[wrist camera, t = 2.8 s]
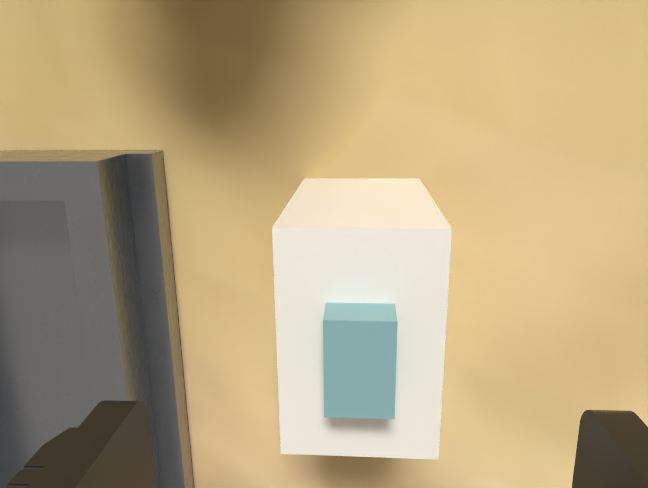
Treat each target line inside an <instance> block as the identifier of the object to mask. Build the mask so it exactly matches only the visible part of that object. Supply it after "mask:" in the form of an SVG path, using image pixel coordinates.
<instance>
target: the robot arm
mask: <svg viewBox="0 0 648 488" xmlns="http://www.w3.org/2000/svg"><path fill="white" fill-rule="evenodd" d="M154 485H155V466H154V458H153V449H152V441H151V432H150V424H149V416H148V410H147V406H146V404H145V403H144V402H143V401H112V400H103V401H101V402H99V403H98V404H97V405H96V407H95V408H94V409H93V410H92V411H91V412H90V414H89V415H88V416H87V417H86V418H85V420H84V421H83V422H82V423H81V424H80V425H79V427H78V428H77V427H70V428H68V429H67V430H65V431H63V432H62V433H60V434H59V435H57V436H56V437H54V438H53V439H51V440H50V441H48V442H47V443H45V444H43V445H42V446H41V448H40V449H39V450H38V451H37V452H36V453H35V454H34V455H33V456H32V457H31V459H30V460H29V461H28V462H27V463H26V464H25V465H24V469H23V470H20V471H19V472H18V473H17V474H16V475H15V476H14V477H13V478H12V480H11V481H10V482H9V483H8V486H7V488H154ZM572 488H648V427H647V426H646V425H645V424H644V422H643V421H642V420H641V419H640V418H639V417H638V416H637V415H636V414H635V413H634V412H632V411H609V410H586V411H585V412H584V413H583V414H582V416H581V420H580V426H579V434H578V442H577V450H576V458H575V466H574V474H573V483H572Z"/></svg>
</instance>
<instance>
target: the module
mask: <svg viewBox="0 0 648 488" xmlns="http://www.w3.org/2000/svg"><path fill="white" fill-rule="evenodd" d="M451 233H452V228H451V227H450V225H449V224H448V222H447V221H446V219H445V218H444V216H443V215H442V213H441V211H440V210H439V208H438V207H437V205H436V204H435V202H434V201H433V199H432V198H431V196H430V194H429V193H428V191H427V190H426V188H425V187H424V185H423V184H422V182H421V181H420V179H304V180H303V181H302V183H301V184H300V186H299V187H298V189H297V191H296V192H295V194H294V195H293V197H292V198H291V200H290V201H289V203H288V204H287V206H286V207H285V209H284V210H283V212H282V213H281V215H280V216H279V218H278V219H277V221H276V222H275V224H274V225H273V227H272V236H273V262H274V288H275V314H276V340H277V366H278V392H279V418H280V444H281V454H302V455H329V456H357V457H384V458H411V459H438V457H439V440H440V423H441V405H442V388H443V371H444V354H445V336H446V319H447V302H448V285H449V268H450V250H451Z"/></svg>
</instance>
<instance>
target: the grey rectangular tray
mask: <svg viewBox="0 0 648 488" xmlns="http://www.w3.org/2000/svg"><path fill="white" fill-rule="evenodd" d="M103 400H112V401H143V402H144V403H145V404H146V406H147V410H148V416H149V424H150V432H151V441H152V449H153V458H154V466H155V485H154V488H194V483H193V472H192V461H191V450H190V440H189V429H188V418H187V408H186V397H185V386H184V376H183V365H182V354H181V343H180V333H179V322H178V311H177V301H176V290H175V279H174V269H173V258H172V247H171V236H170V226H169V215H168V204H167V194H166V183H165V172H164V162H163V151H162V150H124V151H0V488H7V486H8V483H9V482H10V481H11V480H12V478H13V477H14V476H15V475H16V474H17V473H18V472H19V471H20V470H23V469H24V465H25V464H26V463H27V462H28V461H29V460H30V459H31V457H32V456H33V455H34V454H35V453H36V452H37V451H38V450H39V449H40V448H41V446H42V445H43V444H45V443H47V442H48V441H50V440H51V439H53V438H54V437H56V436H57V435H59V434H60V433H62V432H63V431H65V430H67V429H68V428H70V427H77V428H78V427H79V425H80V424H81V423H82V422H83V421H84V420H85V418H86V417H87V416H88V415H89V414H90V412H91V411H92V410H93V409H94V408H95V407H96V405H97V404H98V403H99V402H101V401H103Z"/></svg>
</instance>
